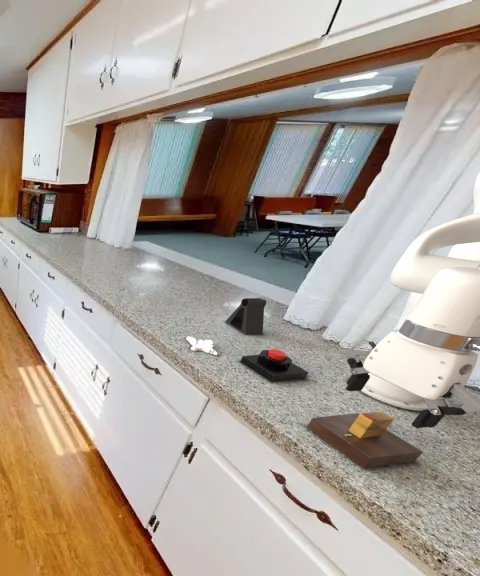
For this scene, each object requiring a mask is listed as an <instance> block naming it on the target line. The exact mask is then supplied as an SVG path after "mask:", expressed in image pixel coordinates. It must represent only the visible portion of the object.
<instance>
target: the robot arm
mask: <svg viewBox="0 0 480 576" xmlns="http://www.w3.org/2000/svg"><path fill="white" fill-rule="evenodd" d="M472 197H473V198H472V199H473V201H472V202H473V213H472V214H469V215H465V216H463V217H459V218H455V219H453V220H450V221H448V222H445V223H442V224H440V225H437V226H435V227H433V228H431V229H429V230H427V231H425V232H424V233H423V234H420V235H419V236H418V237H417V238H415V239H414V240H413V241H412V242H411V243H410V244H409V246H408V247H407V248H406V250H405V251H404V253H403V254H402V255H401V257H400V258H399V260H398V261H397V262H396V264H395V265H394V267H393V269H392V270H391V272H390V276H389V281H390V284H391V285H392V286H394V287H395V288H397V289H399V290H402V291H406V292H410V293H409V295H408V297H407V301H406V304H405V306H404V309H403V312H402V313H401V316H400V318H399V319H398V321H397V323H396V325H395V327H394V328H393V330H392V331H391V332H389V333H388V334H387V335H385V337H383V338H382V339H381V340H379V342H378V343H377V344H376V345H375V347H373V349H365V348H354V347H353V348H347V349H346V358H347V360H346V362H347V364H348V366H349V368H350V370H349V372H350V373H351V375H350V377H349V378H348V380H347V381H346V385H347V386H346V387H345V391H348V392H359V391H360V392H361V393H364V394H365V395H367V396H369V397H371V398H373V399H375V400H378V401H379V402H383V403H385V404H387V405H390V406H393V407H396V408H400V409H403V410H409V411H415V412H416V411H417V412H420V413H419V414H417V416H416V417H415V419H414V420H412V423H411V424H410V425H411V426H412V427H413V428H415V429H423V428H429V429H431V428H435V427H436V426H437V425H438V424H439V423H440V421H442V419H443V418H444V417H445V416H465V415H470V414H475V413H480V400H479V399H478V398H476V397H475V396H474V395H473V394H472V393H471V392H469V391H468V390H467V389H465V385H466V384H467V383H468V381H469V379H470V377H471V375H472V374H473V371H474V370H475V369H474V368H475V367H476V365H477V361H478V359H479V354H478V353H477V352H480V171H479V172H478V174H477V177H476V179H475V182H474V186H473V195H472ZM446 247H451V249H450V251H449V252H448V254H447V256H445V255H437V254H436V255H435V254H430V253H432V252H434V251H436V250H439V249H442V248H446ZM361 356H362V357H366V358H365V360H364V361H362V360H361V359H360V357H361ZM454 398H456V399H457V400H458V401H460V402H461V404H462V405H459V406H451V404H450V402H449V400H452V399H454Z"/></svg>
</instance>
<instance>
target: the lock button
mask: <svg viewBox="0 0 480 576" xmlns="http://www.w3.org/2000/svg"><path fill="white" fill-rule="evenodd" d="M268 350H269V352H268V356H269V357H271V358H273V359H275V360H279V361H284V360H285V358H286V356H288V355H287V353H286V352H284V351H282V350H278V349H275V348H270V349H268Z"/></svg>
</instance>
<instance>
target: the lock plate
mask: <svg viewBox="0 0 480 576" xmlns="http://www.w3.org/2000/svg"><path fill="white" fill-rule="evenodd" d="M360 414H361V413H359V412H354V413H345V414H337V415H326V416H319V417H318V416H316V417H312V418H311V419H310V421H309V422H308V424H307V426H306V428H307V429H309V430H310V431H311V432H313V433H314V434H315V435H317V436H318V437H320V438H321V439H323V440H324V441H325V442H327V443H328V444H330V446H332V447H333V448H335V449H337V451H339V452H341V453H342V454H344V456H347V457H348V458H349V459H351V460H352V461H353V462H355V463H356V464H357V465H359V466H360V467H362V468H363V469H366V468H375V467H381V466H382V467H384V466H391V465H399V464H405V463H407V464H408V463H414V462H416V461H417V460H418V459H419V458H420V456H421V455H423V453H424V451H423V450H421V449H420V448H418V447H417V446H415V445H413V444H411V443H409V442H408V441H406V440H404V439H403V438H402V437H399V436H398V435H396V434H394V433H393V432H391V431H390V430H388V429H386V431H385V432H384V433H383V434H382V436H377V437H368V438H359V437H357V436H356V435H354V434H352V433H351V432H349V431H348V430H349V429H350V427H351V426H352V425H353V423H354V422H355V420H356V419H357V417H358V416H359V415H360Z"/></svg>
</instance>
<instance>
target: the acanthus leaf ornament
mask: <svg viewBox="0 0 480 576" xmlns="http://www.w3.org/2000/svg"><path fill="white" fill-rule="evenodd" d="M186 341H188V343H189V344H190V345H191V347H190V350H191V351H194V352H196V351H197V352H198V351H201V352H205V353H207V354H211V355H214V356H218V355H219V353H218V352H217V350H215V349H214V342H213V340H212V339H204V340H203V339H199V340H197V339H196V338H195V337H192V336H186Z"/></svg>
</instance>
